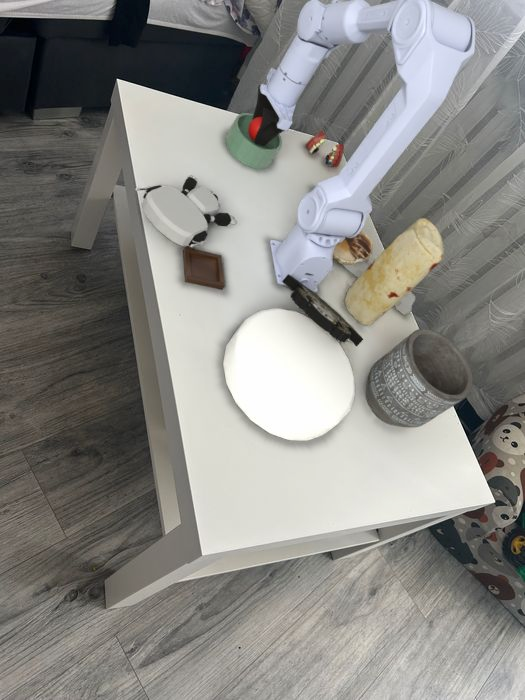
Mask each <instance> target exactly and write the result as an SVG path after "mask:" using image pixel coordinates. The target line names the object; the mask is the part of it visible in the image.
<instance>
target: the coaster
mask: <svg viewBox="0 0 525 700" xmlns="http://www.w3.org/2000/svg"><path fill="white" fill-rule="evenodd" d="M222 258H223V257H222V254H218V253H213V252H209V251H205V250H201V249H197V248H194V247H192V248H191V247H190V246H189V247H188V246H186V247H184V246H183V249H182V261H183V262H182V263H183V275H184V282H185V283H188V284H193V285H197V286H201V287H207V288H212V289H217V290H222V291H223V290H224V289H225V287H226V284H225V283H226V282H225V276H224V275H225V274H224V265H223V259H222Z"/></svg>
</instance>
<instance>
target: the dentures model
mask: <svg viewBox="0 0 525 700" xmlns="http://www.w3.org/2000/svg"><path fill="white" fill-rule="evenodd" d="M325 142H326V133H325V132H324V131H323V130H320V131H319V132H318V133H316V134H315V135H314V136H313V137H311V138H310V139H309V140H308V141H307V142H306V143H305V148H306V149H308V152H309V154H311V155H314V154H316V153H318V152H319V150H320V145H323V144H324V143H325ZM344 150H345V144H342V143H338V144H335V145H333V147H332V149H331V152H329V153H328V154H326V155H325V166H328V167H333V168H338V167H339V166H340V164H341V161H342V158H343V154H344Z"/></svg>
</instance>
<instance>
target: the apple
mask: <svg viewBox="0 0 525 700" xmlns="http://www.w3.org/2000/svg"><path fill="white" fill-rule="evenodd" d="M261 121H262V117H257V118H255V119H253V120H252V121H251V123H250V124H249V128H248V132H249V135H250V137H251V139H252V140H253V141H255V137H256V134H257V132H258V130H259V127H260V125H261Z"/></svg>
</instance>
